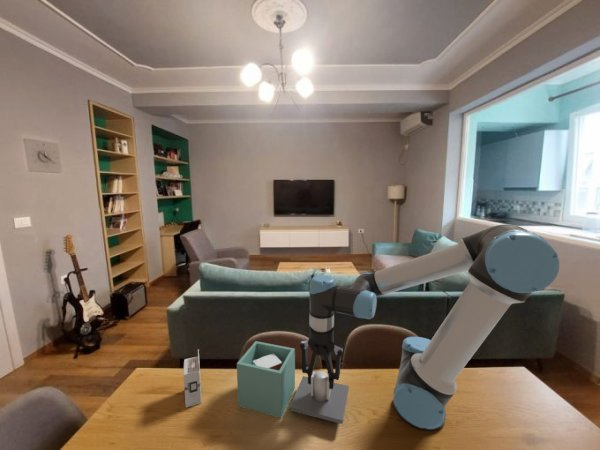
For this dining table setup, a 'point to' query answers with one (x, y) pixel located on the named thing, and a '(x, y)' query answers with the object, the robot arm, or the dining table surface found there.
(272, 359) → the small box
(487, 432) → the dining table surface
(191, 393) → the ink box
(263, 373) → the box
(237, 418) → the dining table surface
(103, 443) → the dining table surface
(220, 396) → the dining table surface
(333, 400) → the lid
